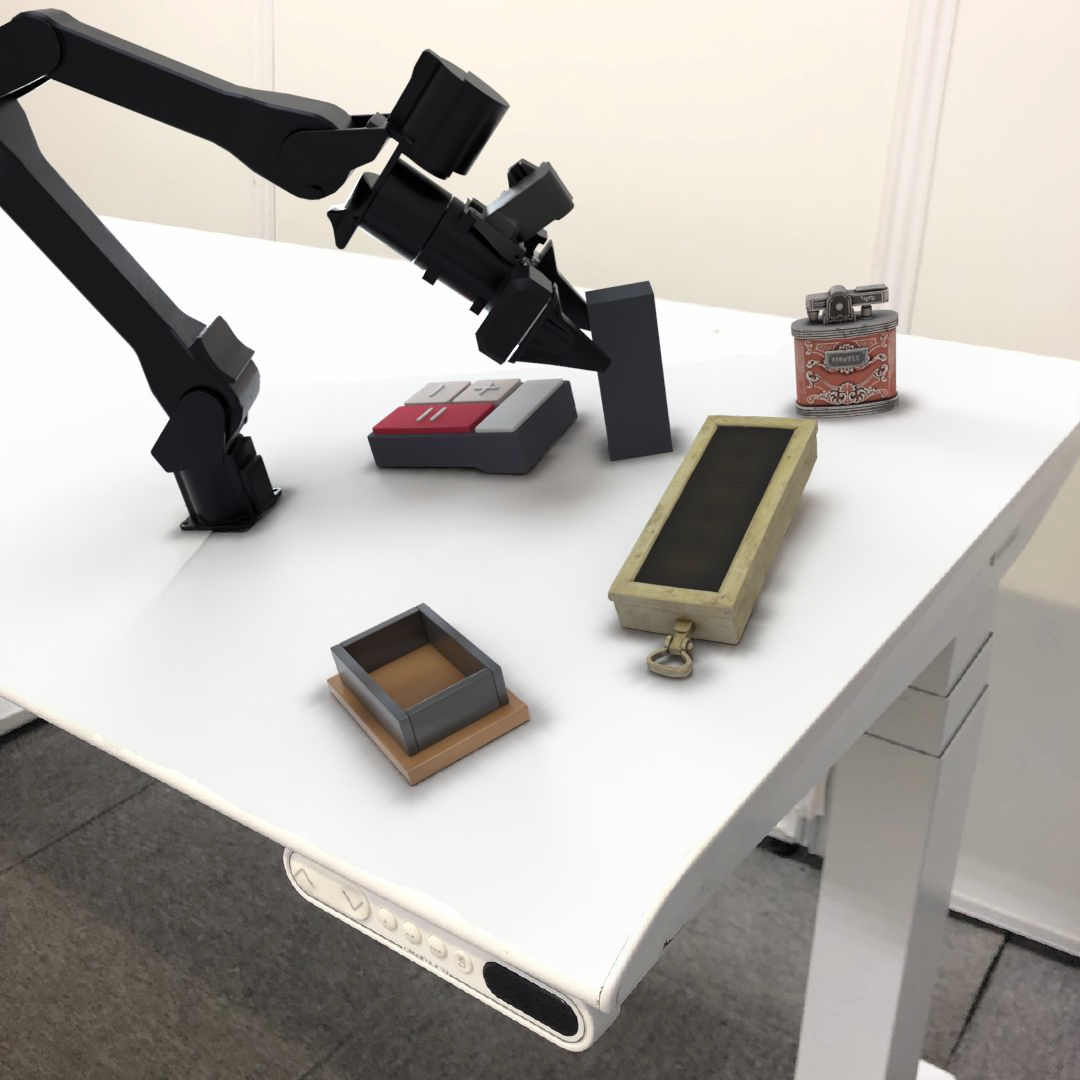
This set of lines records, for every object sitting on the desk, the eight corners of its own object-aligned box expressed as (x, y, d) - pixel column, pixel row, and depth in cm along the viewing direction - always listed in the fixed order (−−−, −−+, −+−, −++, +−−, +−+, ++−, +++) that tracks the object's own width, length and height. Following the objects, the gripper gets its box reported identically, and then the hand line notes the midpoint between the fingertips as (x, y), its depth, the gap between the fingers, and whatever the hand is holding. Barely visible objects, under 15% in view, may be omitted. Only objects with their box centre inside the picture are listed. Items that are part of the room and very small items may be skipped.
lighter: (796, 420, 84) (790, 301, 79) (794, 403, 86) (788, 287, 81) (901, 411, 82) (901, 288, 77) (895, 394, 85) (895, 274, 80)
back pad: (611, 461, 83) (587, 304, 77) (608, 443, 86) (584, 291, 80) (673, 451, 83) (654, 293, 76) (667, 433, 86) (649, 280, 79)
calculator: (426, 378, 96) (570, 371, 89) (438, 420, 98) (579, 416, 91) (361, 429, 88) (514, 425, 81) (376, 473, 90) (526, 474, 83)
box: (826, 472, 72) (819, 412, 69) (736, 716, 58) (722, 654, 55) (713, 467, 76) (702, 410, 73) (602, 694, 62) (582, 635, 59)
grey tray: (330, 692, 62) (314, 645, 61) (437, 638, 65) (425, 592, 64) (412, 786, 54) (396, 735, 52) (531, 719, 57) (519, 668, 55)
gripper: (489, 156, 64) (685, 296, 69) (497, 114, 80) (655, 231, 85) (397, 301, 69) (587, 424, 73) (421, 234, 85) (575, 338, 89)
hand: (604, 346), depth 80 cm, fingers open, 9 cm apart
